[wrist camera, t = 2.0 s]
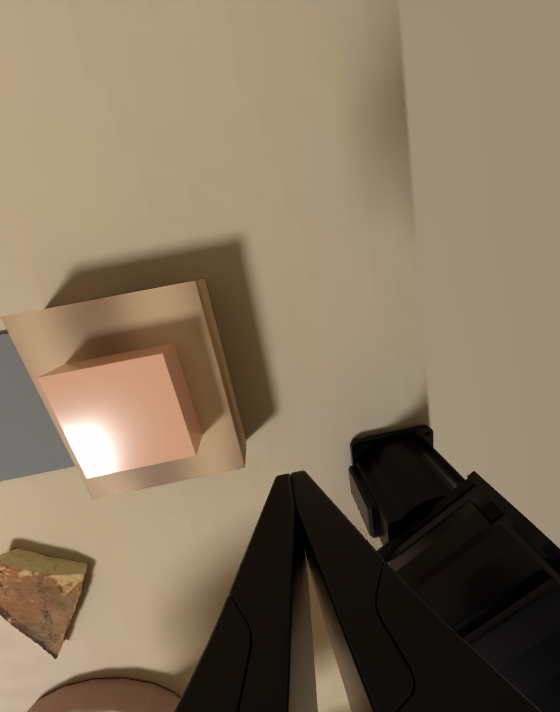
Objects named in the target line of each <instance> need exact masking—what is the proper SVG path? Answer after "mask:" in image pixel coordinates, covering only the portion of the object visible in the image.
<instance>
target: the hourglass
mask: <svg viewBox="0 0 560 712" xmlns="http://www.w3.org/2000/svg"><path fill="white" fill-rule="evenodd" d="M179 700H180V698H179V697H178V696H177V695H176V694H175V693H172V692H170V691H168V690H166V689H164V688H162V687H159V686H157V685H155V684H152V683H147V682H141V681H136V680H130V679H93V680H89V681H85V682H80V683H76V684H72V685H68V686H64V687H62V688H60V689H58V690H56V691H54V692H52V693H50V694H49V695H47V696H45V697H43V698H41V699H40V700H38V701H37V702H36V703H35V705H34V706H33V707H32V708H31V709H30V710H29V712H174V710H175V708H176V706H177V704H178V702H179Z"/></svg>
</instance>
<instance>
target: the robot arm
mask: <svg viewBox="0 0 560 712" xmlns="http://www.w3.org/2000/svg"><path fill="white" fill-rule="evenodd" d="M425 431H427V432H426V433H424V432H425ZM357 445H359V446H358V447H355V446H357ZM350 451H351V460H352V466H350V467H349V477H350V485H351V493H352V495H353V497H354V500H355V502H356V504H357V507H358V509H359V511H360V514H361V516H362V518H363V521H364V523H365V525H366V528H367V530H368V532H369V535H370V536H372V537H373V538H377V537H379V538H380V540H381V542H382V544H383V546H382V547H381V548H379V549H378V550H377V551H376V550H375V549H374V548H373V547H372V545H371V544H370V543H369V542H368V541H367V540H366V539H365V538H364V537H363V535H362V534H361V533H360V532H359V531H358V530H357V529H356V528H355V526H354V525H353V524H352V523H351V522H350V521H349V520H348V519H347V517H346V516H345V515H344V514H343V513H342V512H341V511H340V510H339V508H338V507H337V506H336V505H335V504H334V503H333V502H332V501H331V500H330V498H329V497H328V496H327V495H326V494H325V493H324V492H323V491H322V489H321V488H320V487H319V486H318V485H317V484H316V483H315V482H314V480H313V479H312V478H311V477H310V476H309V475H308V474H307V473H306V472H305V471H303V470H302V471H297V472H293V473H291V475H290V474H283V475H278V476H277V477H276V478H275V480H274V483H273V485H272V488H271V490H270V493H269V495H268V498H267V500H266V503H265V505H264V508H263V510H262V512H261V515H260V517H259V520H258V522H257V525H256V527H255V530H254V532H253V535H252V537H251V540H250V542H249V545H248V547H247V550H246V552H245V554H244V557H243V559H242V562H241V564H240V567H239V569H238V572H237V574H236V577H235V579H234V582H233V584H232V587H231V589H230V591H229V595H230V596H228V597H227V598H226V601H225V603H224V606H223V608H222V611H221V613H220V616H219V618H218V620H217V623H216V625H215V627H214V630H213V632H212V634H211V637H210V639H209V641H208V643H207V646H206V648H205V650H204V652H203V654H202V656H201V658H200V660H199V662H198V664H197V666H196V668H195V670H194V673H193V675H192V677H191V679H190V681H189V683H188V685H187V687H186V689H185V691H184V693H183V695H182V696H181V698H180V700H179V702H178V704H177V706H176V708H175V710H174V712H318V708H317V694H316V681H315V667H314V654H313V640H312V626H311V613H310V599H309V586H308V572H307V562H306V557H307V561H308V565H309V569H310V572H311V576H312V579H313V582H314V586H315V589H316V593H317V596H318V599H319V603H320V606H321V609H322V613H323V616H324V620H325V623H326V626H327V630H328V633H329V636H330V640H331V643H332V647H333V650H334V653H335V657H336V660H337V663H338V667H339V670H340V674H341V677H342V680H343V684H344V687H345V690H346V694H347V697H348V701H349V704H350V707H351V711H352V712H560V549H559V548H558V547H557V546H556V545H555V544H554V543H553V542H552V541H551V540H550V539H548V537H546V536H545V535H544V534H543V533H542V532H541V531H540V530H539V529H538V528H536V526H535V525H533V524H532V523H531V522H530V521H529V520H528V519H527V518H526V517H525V516H524V515H522V514H521V513H520V512H519V511H518V510H517V509H516V508H515V507H513V505H511V504H510V503H509V502H508V501H507V500H506V499H504V497H502V496H501V495H500V494H499V493H498V492H497V491H496V490H495V489H494V488H492V487H491V486H490V485H489V484H488V483H487V482H486V481H485V480H483V479H482V478H481V477H480V476H479V475H478V474H477V473H476V472H475V471H473V472H472V473H471V474H470V475H468V476H467V477H468V478H467V479H466V480H465V479H464V478H463V477H462V476H461V475H460V474H459V473H458V472H457V471H456V470H455V469H454V468H453V467H452V466H451V465H450V464H449V463H448V462H447V461H446V460H445V459H444V458H443V457H442V456H441V455H440V454H439V453H438V452H437V451H436V450H435V449H434V448H433V430H432V429H431V428H430V427H429V426H427V425H422V426H417V427H413V428H408V429H403V430H398V431H393V432H389V433H384V434H379V435H374V436H369V437H364V438H360V439H355V440H353V441H352V442H351V443H350ZM304 547H305V548H304ZM305 552H306V554H305Z"/></svg>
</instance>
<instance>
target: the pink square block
mask: <svg viewBox="0 0 560 712" xmlns="http://www.w3.org/2000/svg"><path fill="white" fill-rule="evenodd" d="M38 381H39V383H40V385H41V387H42V389H43V391H44V393H45V395H46V397H47V399H48V401H49V403H50V405H51V407H52V409H53V411H54V413H55V415H56V417H57V419H58V421H59V423H60V425H61V427H62V429H63V431H64V433H65V435H66V437H67V439H68V441H69V443H70V445H71V447H72V449H73V451H74V453H75V455H76V457H77V459H78V461H79V463H80V465H81V467H82V469H83V471H84V473H85V475H86V478H91V477H96V476H101V475H106V474H110V473H115V472H120V471H125V470H130V469H135V468H140V467H144V466H149V465H154V464H159V463H164V462H169V461H173V460H178V459H183V458H188V457H193V456H196V455H197V452H198V448H199V445H200V442H201V439H202V436H203V434H202V431H201V428H200V425H199V422H198V418H197V415H196V412H195V409H194V405H193V402H192V399H191V396H190V393H189V389H188V386H187V383H186V380H185V377H184V373H183V370H182V367H181V364H180V361H179V357H178V354H177V351H176V348H175V345H174V343H171V344H166V345H160V346H155V347H150V348H145V349H140V350H135V351H130V352H124V353H119V354H114V355H109V356H104V357H99V358H94V359H89V360H83V361H78V362H73V363H68V364H64V365H62V366H60V367H58V368H56V369H54V370H52V371H50V372H48V373H46V374H44V375H42V376H40V377H38Z"/></svg>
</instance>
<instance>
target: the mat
mask: <svg viewBox="0 0 560 712" xmlns="http://www.w3.org/2000/svg"><path fill="white" fill-rule="evenodd" d="M72 466H75V464H74V462H73V460H72V458H71V456H70V454H69V452H68V450H67V448H66V446H65V444H64V442H63V440H62V438H61V436H60V434H59V432H58V430H57V428H56V426H55V424H54V422H53V420H52V418H51V417H50V415H49V413H48V411H47V409H46V407H45V405H44V403H43V401H42V399H41V397H40V395H39V393H38V391H37V389H36V387H35V385H34V383H33V381H32V379H31V377H30V375H29V373H28V371H27V369H26V367H25V365H24V363H23V361H22V359H21V357H20V355H19V353H18V351H17V349H16V347H15V345H14V343H13V341H12V339H11V337H10V335H9V333H6V334H0V481H4V480H9V479H14V478H19V477H24V476H29V475H33V474H38V473H43V472H48V471H53V470H58V469H63V468H68V467H72Z"/></svg>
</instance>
